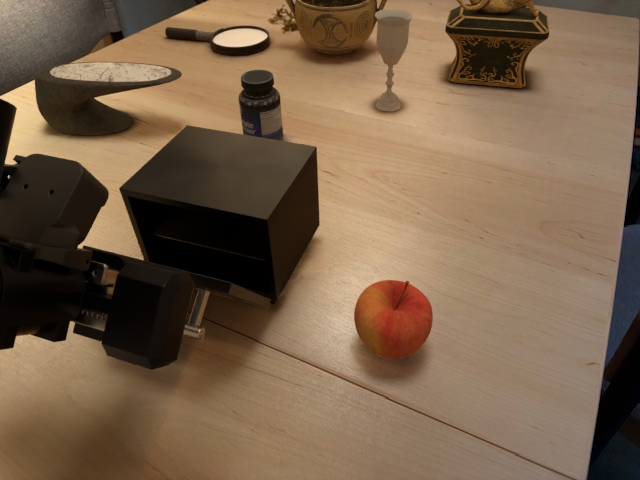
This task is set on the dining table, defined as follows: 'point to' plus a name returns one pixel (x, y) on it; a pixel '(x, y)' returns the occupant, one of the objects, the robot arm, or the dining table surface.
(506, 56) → the decorative box
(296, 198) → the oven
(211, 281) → the oven door
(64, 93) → the coffee table
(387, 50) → the chalice
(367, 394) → the dining table surface
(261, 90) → the pill bottle
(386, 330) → the apple
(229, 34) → the magnifying glass
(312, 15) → the ceramic bowl
